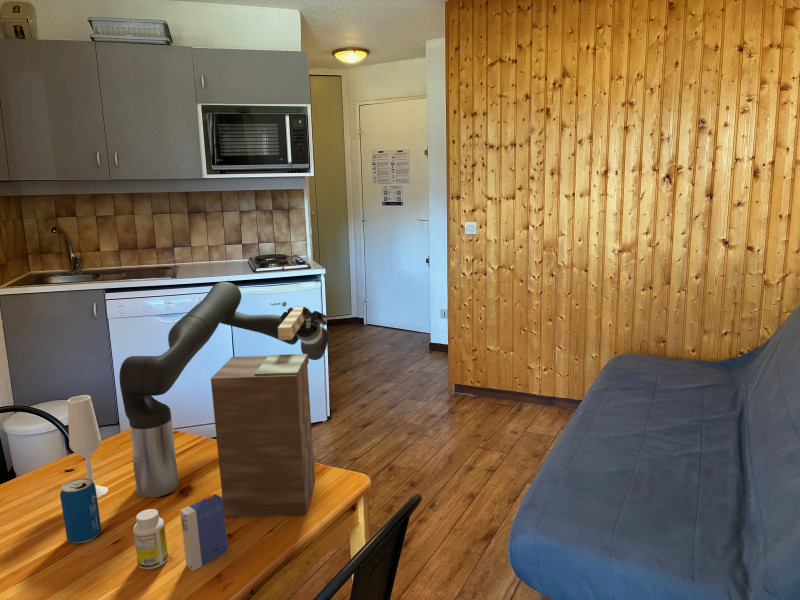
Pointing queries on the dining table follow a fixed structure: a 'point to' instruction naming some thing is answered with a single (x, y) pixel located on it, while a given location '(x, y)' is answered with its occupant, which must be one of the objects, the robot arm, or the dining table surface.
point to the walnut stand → (264, 435)
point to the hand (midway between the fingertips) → (297, 310)
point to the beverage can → (80, 510)
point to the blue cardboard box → (204, 531)
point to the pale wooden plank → (291, 324)
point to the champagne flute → (84, 433)
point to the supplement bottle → (150, 539)
